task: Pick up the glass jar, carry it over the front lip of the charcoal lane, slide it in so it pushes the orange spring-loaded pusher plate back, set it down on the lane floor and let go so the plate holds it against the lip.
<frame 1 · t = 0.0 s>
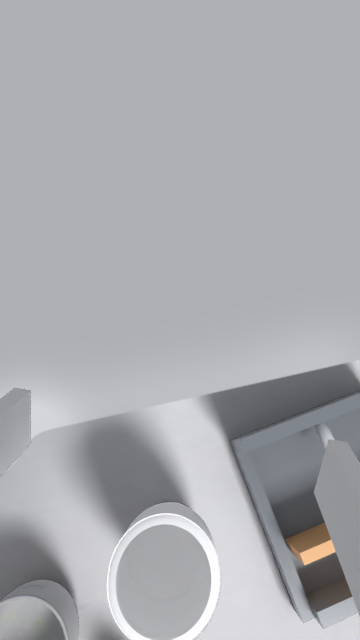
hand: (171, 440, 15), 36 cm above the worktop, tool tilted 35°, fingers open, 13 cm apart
lane: (333, 488, 46), on the worktop
teacup: (34, 632, 41), on the worktop
jar: (170, 537, 44), on the worktop
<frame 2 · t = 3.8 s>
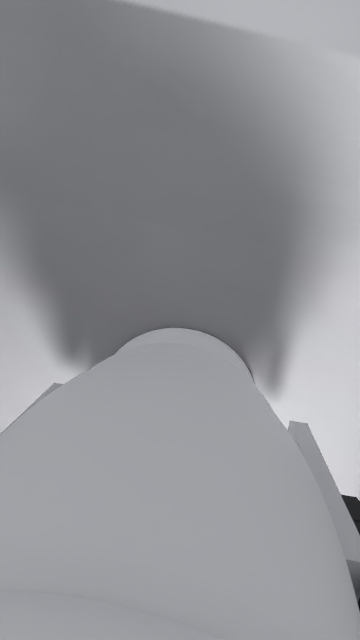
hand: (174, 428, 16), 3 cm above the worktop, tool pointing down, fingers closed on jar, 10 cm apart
jar: (177, 397, 19), on the worktop, touching gripper
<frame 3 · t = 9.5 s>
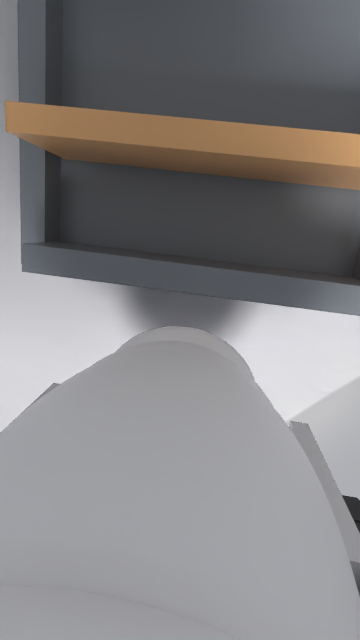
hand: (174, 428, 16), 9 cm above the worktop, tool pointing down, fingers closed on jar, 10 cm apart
lane: (221, 106, 20), on the worktop
pusher plate: (212, 152, 17), point 4 cm above the worktop, slide at 0.0 cm
jar: (177, 395, 19), point 6 cm above the worktop, touching gripper
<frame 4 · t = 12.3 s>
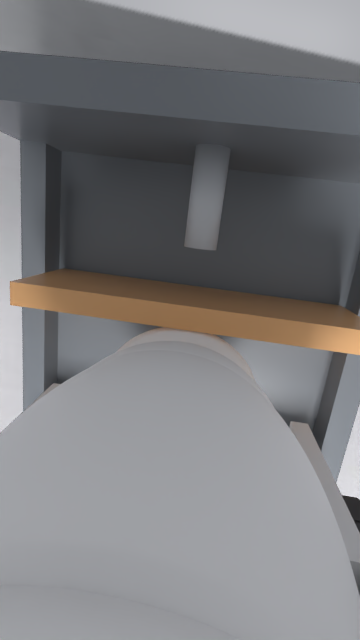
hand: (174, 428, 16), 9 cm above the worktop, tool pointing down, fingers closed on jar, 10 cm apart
lane: (195, 308, 23), on the worktop
pusher plate: (193, 305, 19), point 4 cm above the worktop, slide at 4.6 cm, touching jar
jar: (178, 395, 19), point 6 cm above the worktop, touching gripper, pusher plate
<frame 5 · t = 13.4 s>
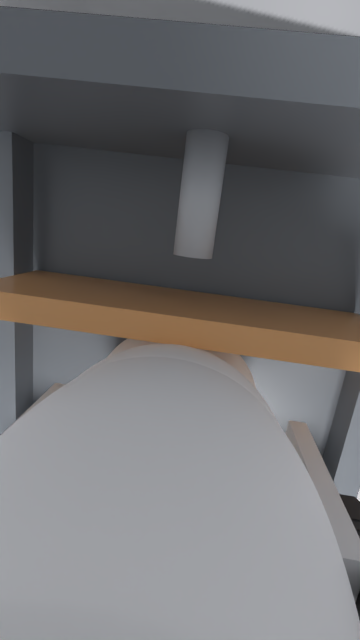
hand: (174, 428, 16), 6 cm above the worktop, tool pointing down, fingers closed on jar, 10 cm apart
lane: (189, 322, 21), on the worktop
pusher plate: (187, 313, 16), point 4 cm above the worktop, slide at 5.0 cm
jar: (175, 395, 18), point 4 cm above the worktop, touching gripper
when the fingers open (4 cm above the worktop, at t = 15.2 s): jar stays where it is, resting on lane, pusher plate.
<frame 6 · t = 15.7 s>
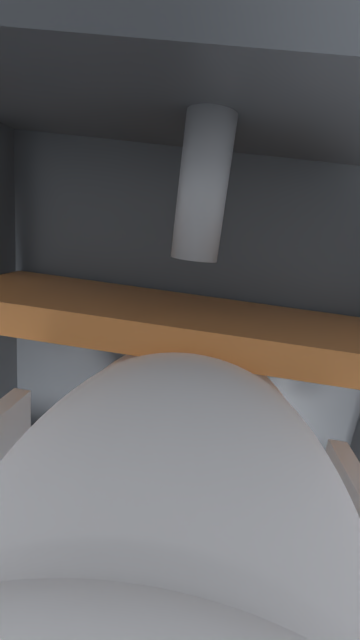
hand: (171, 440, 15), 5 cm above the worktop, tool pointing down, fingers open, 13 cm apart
lane: (190, 331, 19), on the worktop
pusher plate: (187, 321, 14), point 4 cm above the worktop, slide at 5.2 cm, touching jar
jar: (189, 394, 19), point 1 cm above the worktop, touching lane, pusher plate
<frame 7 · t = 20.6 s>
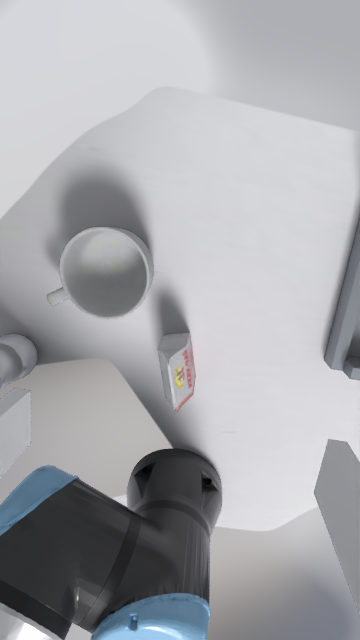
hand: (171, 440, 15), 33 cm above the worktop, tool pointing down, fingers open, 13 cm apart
plastic bottle: (23, 350, 51), on the worktop
white red carton: (180, 355, 49), on the worktop
teacup: (111, 270, 47), on the worktop
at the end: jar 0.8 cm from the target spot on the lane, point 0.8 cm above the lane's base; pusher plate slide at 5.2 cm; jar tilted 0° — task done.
